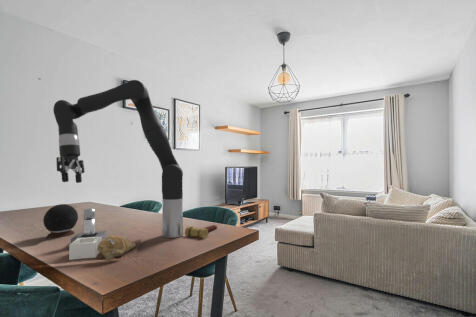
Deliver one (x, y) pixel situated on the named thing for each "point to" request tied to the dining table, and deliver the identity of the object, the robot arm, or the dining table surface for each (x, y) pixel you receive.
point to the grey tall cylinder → (89, 222)
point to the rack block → (84, 248)
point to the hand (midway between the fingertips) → (72, 182)
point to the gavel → (199, 231)
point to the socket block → (97, 234)
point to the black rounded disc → (60, 221)
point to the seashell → (114, 246)
